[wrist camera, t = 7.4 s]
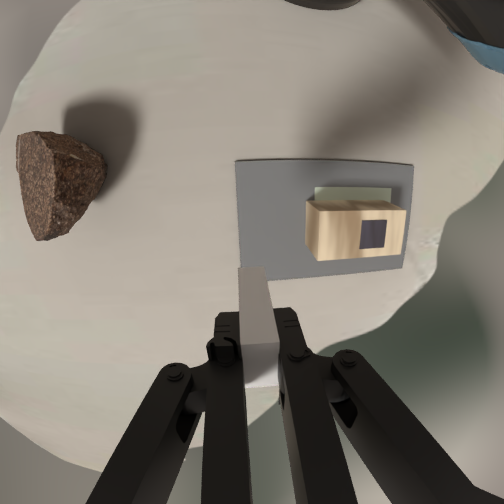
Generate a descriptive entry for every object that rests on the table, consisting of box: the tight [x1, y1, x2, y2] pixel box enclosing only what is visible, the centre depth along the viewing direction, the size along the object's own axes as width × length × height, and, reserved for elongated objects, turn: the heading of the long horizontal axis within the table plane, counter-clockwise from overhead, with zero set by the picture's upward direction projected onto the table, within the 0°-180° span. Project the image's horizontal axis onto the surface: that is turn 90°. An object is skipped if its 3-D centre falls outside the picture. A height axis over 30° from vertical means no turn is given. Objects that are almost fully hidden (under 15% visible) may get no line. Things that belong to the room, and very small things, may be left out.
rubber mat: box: [235, 160, 414, 281], centre depth 31 cm, size 22×14×1 cm, turn 92°
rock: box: [16, 131, 107, 241], centre depth 22 cm, size 12×10×10 cm
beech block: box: [305, 200, 406, 261], centre depth 28 cm, size 5×5×10 cm
